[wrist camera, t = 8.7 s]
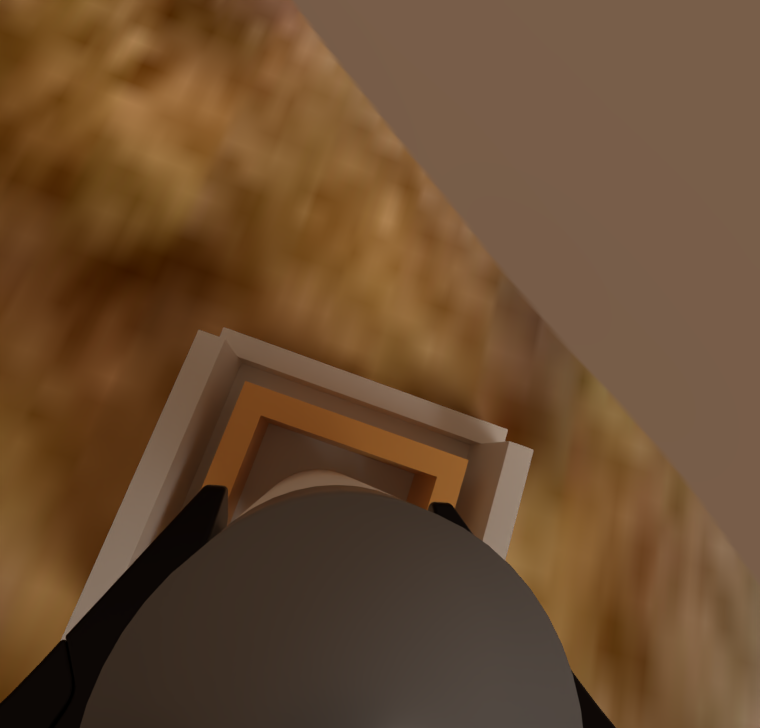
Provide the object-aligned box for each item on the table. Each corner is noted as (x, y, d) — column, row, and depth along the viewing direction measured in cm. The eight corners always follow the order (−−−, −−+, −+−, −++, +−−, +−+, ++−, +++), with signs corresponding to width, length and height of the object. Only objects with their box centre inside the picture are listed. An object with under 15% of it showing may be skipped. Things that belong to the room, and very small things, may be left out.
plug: (324, 624, 15) (391, 1224, 3) (226, 544, 15) (-67, 857, 3) (400, 518, 16) (667, 689, 4) (307, 443, 16) (310, 402, 4)
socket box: (406, 721, 17) (440, 812, 13) (109, 630, 16) (37, 692, 12) (487, 432, 20) (540, 425, 15) (232, 340, 19) (209, 304, 14)
